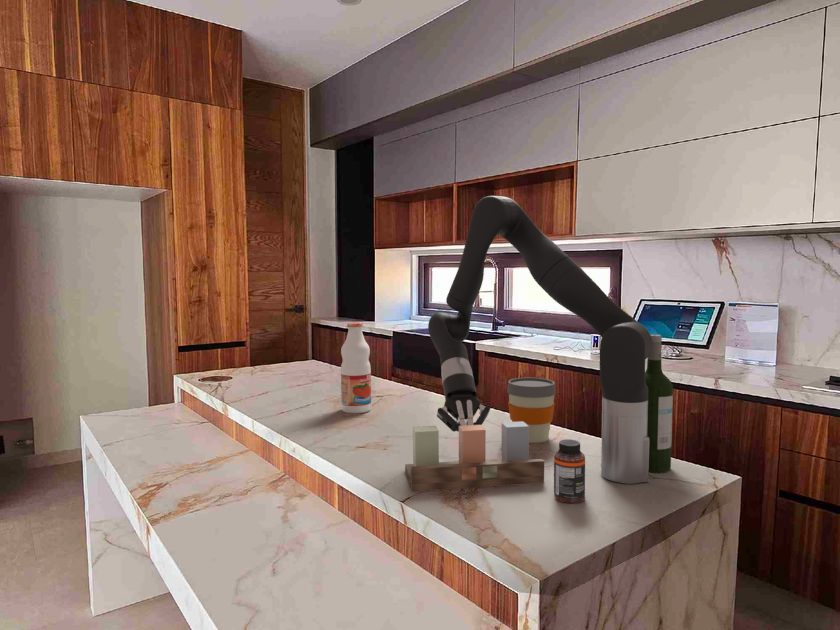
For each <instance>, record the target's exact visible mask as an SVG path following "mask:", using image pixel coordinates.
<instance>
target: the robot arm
mask: <svg viewBox="0 0 840 630" xmlns="http://www.w3.org/2000/svg"><path fill="white" fill-rule="evenodd" d="M496 236H499V237H500V236H501V237H502V238H503V239H504V240H505V241H507V242H508V243H510V245H511V246H513V247H514V248H515V249H516V251H518V252H519V254H520V255H521V257H522V258H523V260H524V261H525V264H526V267H527V269H528V271H529V273H530V275H531V276H532V278H533V279H534V281H535V282H536V283H537V284H538V286H539V287H540V288H541V289H542V290H543V291H545V293H546V294H547V295H548V296H549V297H550V298H551V299H553V300H554V301H555V303H557V304H559V305H560V306H562V307H563V308H564V309H566V310H568V311H569V312H571V313H573V314H574V315H576V316H578V317H579V318H580V319H582V320H583V321H584V322H586V323H587V324H588V325H589V326H590V327H592V328H593V330H594V331H595V332H597V334H598V335H599V336H600V344H599V383H600V387H601V388H602V389H601V390H602V396H601V397H602V400H601V401H602V403H601V405H602V406H601V407H602V408H601V409H602V410H601V450H600V451H601V455H600V457H601V458H600V468H601V469H600V470H601V471H600V474H601V476H602V477H603V478H604V479H606V480H609V481H611V482H614V483H620V484H629V485H632V484H640V483H649V437H648V435H647V426H648V386H647V385H646V381H645V372H646V360H647V359H648V357H649V355H650V354H651V352H652V348H653V341H652V338H651V335H652V334H651V333H650V331H649V330H648V329H647V328H646V327H645V326H644V325H643V324H642V323H640V322H639V321H638V320H636V319H635V318H633V317H632V316H631V315H630V314H629V313H627V312H626V311H625V310H624V309H622V308H621V307H620V306H618V305H617V304H616V303H615V302H614V301H613V300H612V299H611V298H609V296H608V295H607V294H606V293H605V292H604V291H603V290H602V289H601V287H599V285H598V284H597V283H596V282H595V281H594V280H593V279H592V278H591V277H590V276H589V274H587V273H586V272H585V271H584V269H582V267H580V265H578V264H577V262H575V260H573V259H572V258H571V257H570V256H569V255H568V254H567V253H565V251H564V250H562V249H561V247H559V246H558V245H557V244H556V243H555V242H554V241H553V240H551V239H550V238H549V237H548V235H546V234H544V232H542V230H541V229H539V228H538V227H537V225H536V224H535V223H534V222H533V221H532V220H531V218H530V217H529V215H527V214H526V212H525V210H524V209H523V208H522V207H521V206H520V205H519V204H518V203H517V202H516V201H515V200H514V199H512V198H510V197H508V196H502V195H501V196H499V195H488V196H484V197H482V198H481V199H479V200H478V201H477V203H476V204H475V206H474V208H473V211H472V215H471V219H470V222H469V227H468V232H467V236H466V240H465V243H464V248H463V251H462V255H461V259H460V262H459V265H458V268H457V270H456V274H455V276H454V278H453V281H452V283H451V286H450V288H449V289H448V290H449V292H448V293H447V296H446V300H445V302H446V304H447V306H448V307H450V309H452V310H454V311H456V312H457V314H456V315H455V314H450V313H445V312H436V313H433V315H431V316H430V318H429V320H428V323H427V324H428V325H427V327H428V328H427V329H428V333H429V337H430V340H431V342H432V343H433V345H434V348H435V350H436V352H437V353H438V355H439V356H438V357H439V360H440V367H441V373H440V374H441V382H442V386H443V392H444V400H445V401H444V404H443V406H442V407H439V408H437V413H436V417H437V418H438V419H439V420H440V421H442V423H443V424H444V425H446V427H448V428H449V429H450V430H451V431H452V432H458V433H459V426H465V425H483V424H484V422H485V420H486V419H487V418H488V416H489V413H490V412H491V411H490V410H491V406H490V405H483V404H482V403H481V400H480V399H479V398H478V394H477V389H476V383H475V379H474V375H473V374H474V373H473V369H472V367H471V364H470V359H469V355H468V349H467V347H466V345H465V344H464V343H463V342H464V341H465V340H466V339H467V337H468V336H469V334H470V333H469V332H470V327H471V318H472V312H473V307H474V305H475V303H476V300H477V297H478V295H479V293H480V290H481V288H482V285H483V281H484V275H485V261H486V258H487V257H486V256H487V254H488V251H489V249H490V247H491V245H492V243H493V242H494V240H495V238H496ZM478 410H479V411H478ZM477 412H479V413H478V414H479V416H478V418H477V419H476V421H475V422H474V417H475V415H476V414H477Z"/></svg>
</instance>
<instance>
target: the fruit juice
mask: <svg viewBox="0 0 840 630" xmlns="http://www.w3.org/2000/svg"><path fill="white" fill-rule="evenodd" d="M363 327H364V324H363V322H357V321H356V322H355V321H354V322H353V321H352V322H348V323H347V324H346V328H347V329H348V331H347V335H346V339H345V341H344V343H343V344H342V346H341V349H340V354H341V358H342V363H341V365H340V378H341V379H340V381H341V382H340V385H341V386H340V387H341V410H342V412H343V413H347V414H362V413H363V414H364V413H367V412H370V411H371V410H372V377H371V376H372V368H371V367H372V366H371V362H370V360H369V359H370V353H371V350H370V349H371V348H370V346H369V344H368V343H367V340H366V339H365V336H364V334H363Z"/></svg>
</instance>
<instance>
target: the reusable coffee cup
mask: <svg viewBox="0 0 840 630" xmlns="http://www.w3.org/2000/svg"><path fill="white" fill-rule="evenodd" d="M507 393H508V398H509V401H508V402H507V403H508V411H509V419H510V420H511V422H521V421H523V422H524V423H526V424H527V425H528V426H529V444H536V443H537V444H539V443H544V442H547V441H548V440H549V436H550V428H551V422H553V420H554V418H553V417H554V411H555V402H554V399H555V395H556V394H557V393H556V383H555V381H554V380H551V379H548V378H540V377H518V378H517V377H516V378H511V379H510V380H508V382H507Z"/></svg>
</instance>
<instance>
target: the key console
mask: <svg viewBox="0 0 840 630" xmlns="http://www.w3.org/2000/svg"><path fill="white" fill-rule="evenodd" d="M404 470H405V473H406V477H407V481H408V483H409V486H410V489H411V492H423V491H424V492H425V491H439V490H440V491H441V490H457V489H471V488H483V487H484V488H485V487H486V488H487V487H499V486H501V487H502V486H515V485H518V486H519V485H529V484H530V485H532V484H544V483H545V460H544V459H543V458H536V459H533V458H532V459H529V460H515V461H501V458H491V459H487V458H486V459H485V462H481V463H464V464H459V460H455V461H439V465H430V466H413V463H406V464H404Z"/></svg>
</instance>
